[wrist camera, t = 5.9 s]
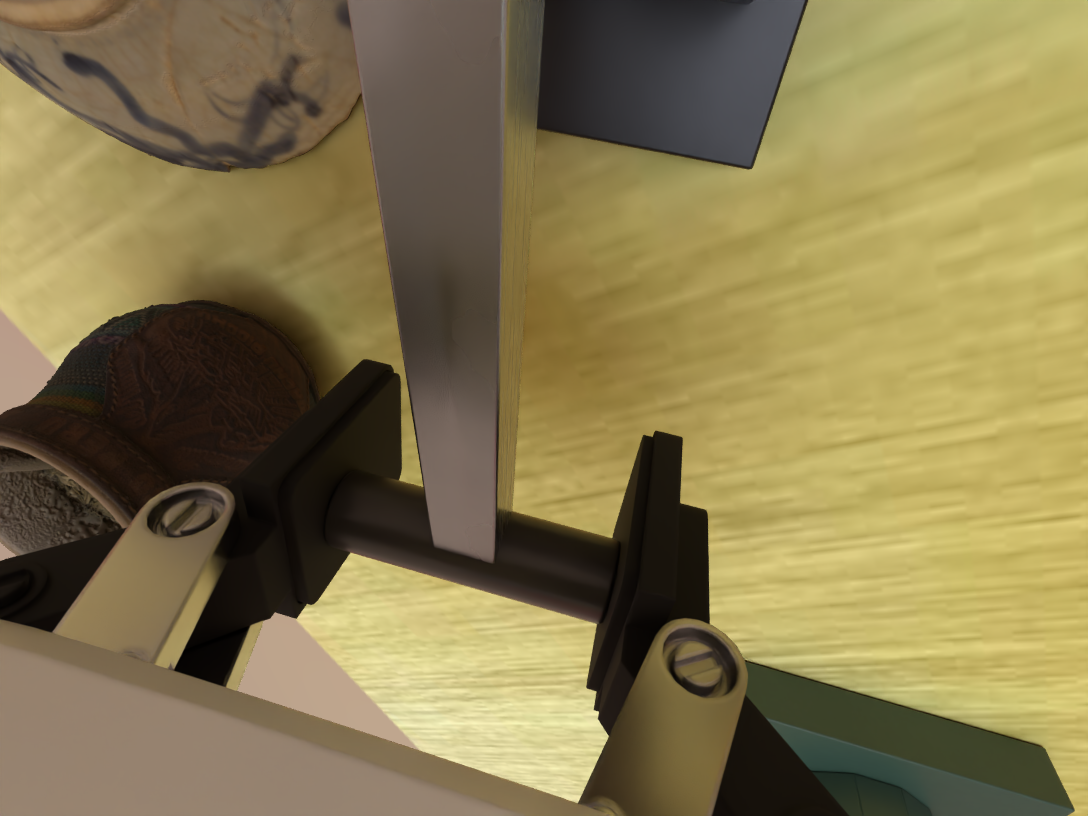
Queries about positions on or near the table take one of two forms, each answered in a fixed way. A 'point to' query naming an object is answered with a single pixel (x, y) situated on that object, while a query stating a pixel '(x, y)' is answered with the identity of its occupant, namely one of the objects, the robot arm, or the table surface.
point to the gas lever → (460, 301)
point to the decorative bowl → (191, 72)
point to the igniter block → (904, 755)
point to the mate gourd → (145, 419)
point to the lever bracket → (666, 73)
